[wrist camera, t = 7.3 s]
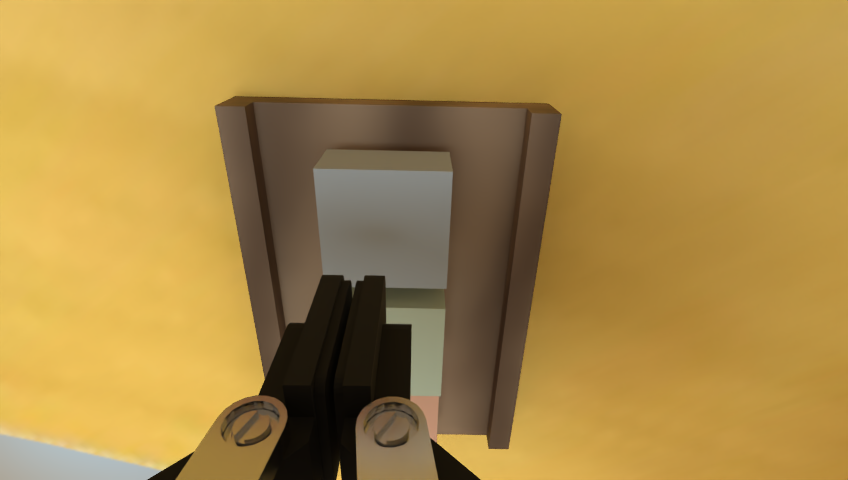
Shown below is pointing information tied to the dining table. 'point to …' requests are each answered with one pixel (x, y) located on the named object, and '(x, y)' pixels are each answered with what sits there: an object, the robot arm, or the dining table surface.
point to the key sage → (421, 333)
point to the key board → (469, 225)
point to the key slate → (385, 215)
